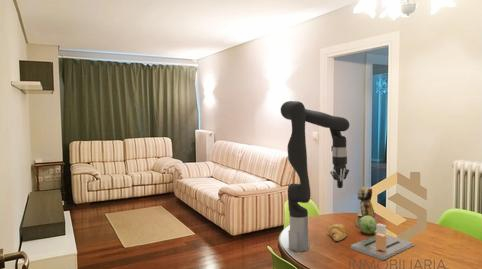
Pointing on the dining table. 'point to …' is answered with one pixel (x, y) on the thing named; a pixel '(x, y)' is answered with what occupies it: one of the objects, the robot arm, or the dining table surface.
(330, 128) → the robot arm
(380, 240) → the orange fader
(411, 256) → the dining table surface
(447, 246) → the dining table surface
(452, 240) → the dining table surface
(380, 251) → the fader panel
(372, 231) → the decorative ball
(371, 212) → the plush toy
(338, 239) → the croissant
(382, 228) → the cream fader
